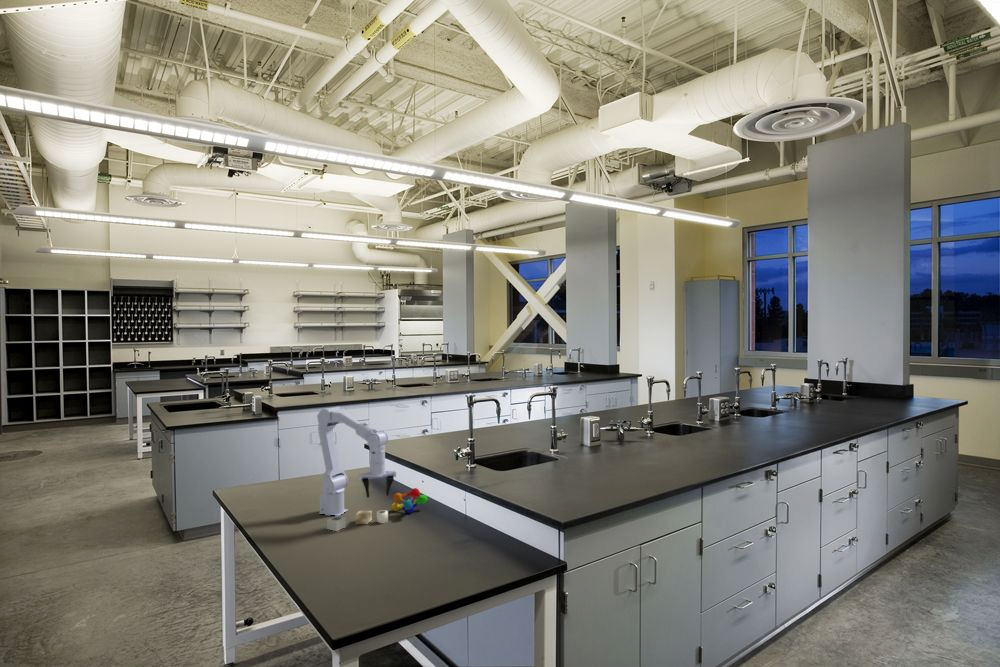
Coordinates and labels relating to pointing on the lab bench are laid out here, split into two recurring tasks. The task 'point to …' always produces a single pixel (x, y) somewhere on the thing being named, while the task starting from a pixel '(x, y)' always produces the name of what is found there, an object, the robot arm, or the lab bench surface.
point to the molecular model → (408, 501)
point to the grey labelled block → (336, 523)
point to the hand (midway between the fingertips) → (377, 495)
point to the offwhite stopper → (382, 516)
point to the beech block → (363, 517)
